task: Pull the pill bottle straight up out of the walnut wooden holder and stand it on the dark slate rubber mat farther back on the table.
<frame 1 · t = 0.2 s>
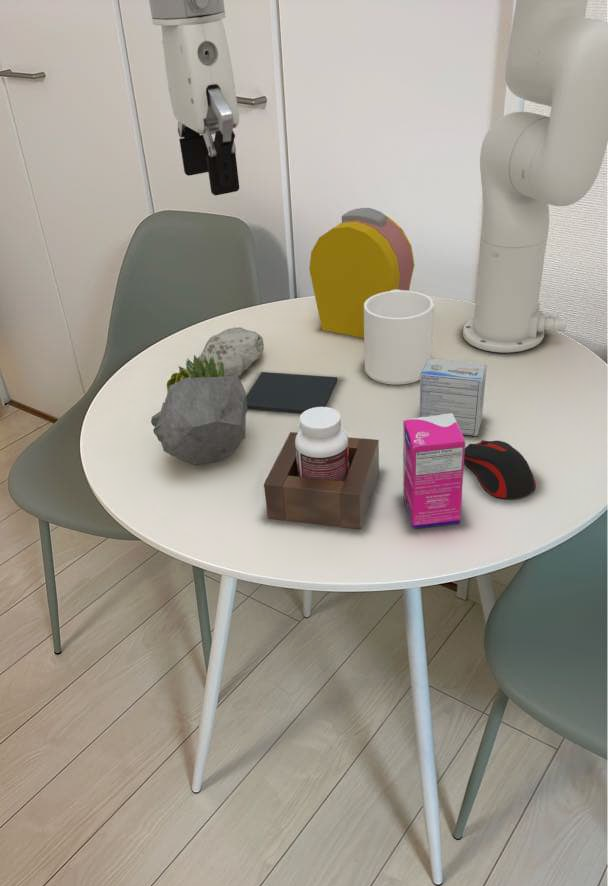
hand: (211, 182, 88), 31 cm above the table, tool pointing down, fingers open, 9 cm apart
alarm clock: (363, 326, 127), on the table
computer mouse: (497, 474, 93), on the table
medicine box: (450, 427, 102), on the table
holder: (325, 495, 92), on the table
potted plant: (203, 446, 102), on the table
mug: (397, 366, 116), on the table
supplement box: (430, 513, 88), on the table
mat: (290, 394, 111), on the table
decorative stone: (229, 367, 119), on the table
pill bottle: (325, 496, 92), resting in holder
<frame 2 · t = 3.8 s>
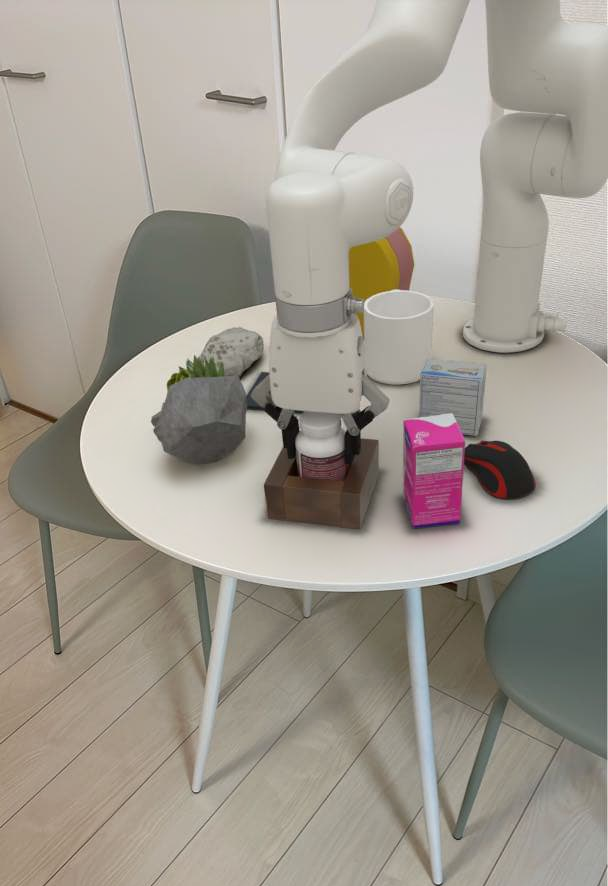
hand: (322, 454, 88), 6 cm above the table, tool pointing down, fingers closed on pill bottle, 6 cm apart
pill bottle: (325, 496, 92), resting in holder, touching gripper
everything else where it was.
when the fingers open (7 cm above the table, at t = 12.2 s): pill bottle stays where it is, resting on mat.
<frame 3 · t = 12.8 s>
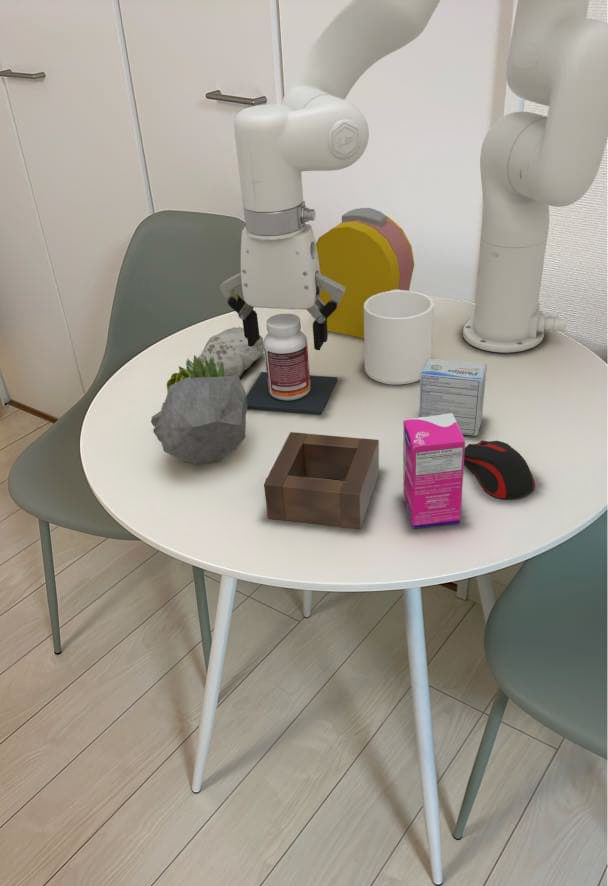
hand: (286, 344, 106), 8 cm above the table, tool pointing down, fingers open, 9 cm apart
pill bottle: (289, 392, 111), resting on mat
everything else where it was.
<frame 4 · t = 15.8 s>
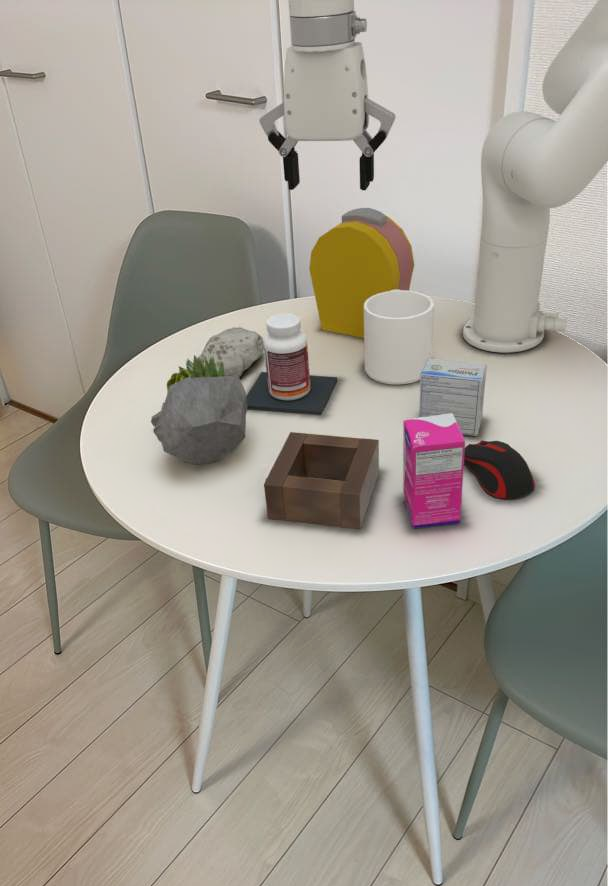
hand: (329, 187, 99), 26 cm above the table, tool pointing down, fingers open, 9 cm apart
nothing on the table moved.
at the end: pill bottle inside the target area on the mat (0.2 cm from its centre), point 0.4 cm above the mat's base; pill bottle tilted 0°; the gripper is holding nothing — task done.
